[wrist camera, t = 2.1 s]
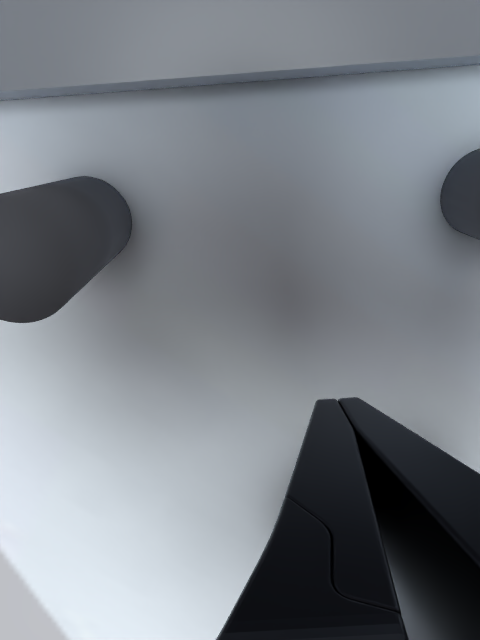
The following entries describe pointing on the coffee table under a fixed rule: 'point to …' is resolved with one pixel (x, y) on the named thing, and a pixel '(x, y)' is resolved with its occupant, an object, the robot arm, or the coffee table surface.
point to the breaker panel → (222, 41)
